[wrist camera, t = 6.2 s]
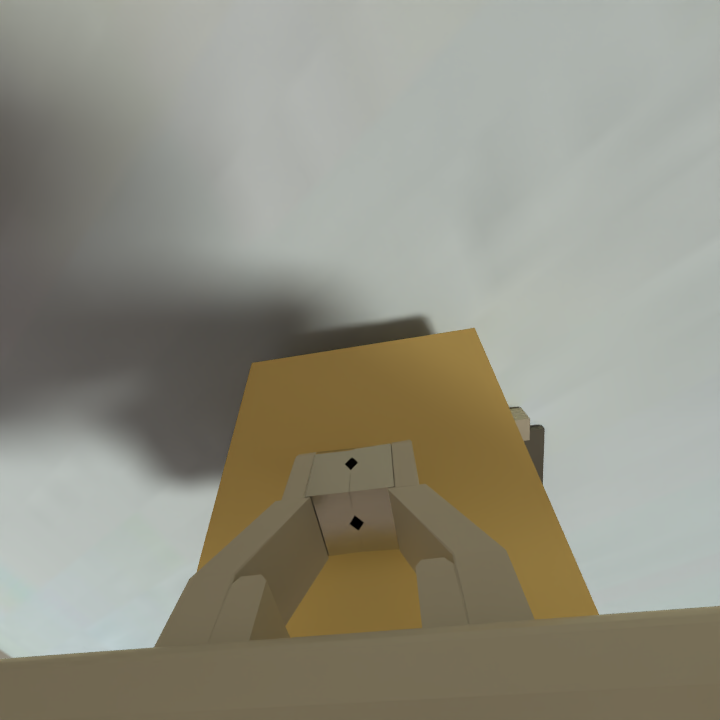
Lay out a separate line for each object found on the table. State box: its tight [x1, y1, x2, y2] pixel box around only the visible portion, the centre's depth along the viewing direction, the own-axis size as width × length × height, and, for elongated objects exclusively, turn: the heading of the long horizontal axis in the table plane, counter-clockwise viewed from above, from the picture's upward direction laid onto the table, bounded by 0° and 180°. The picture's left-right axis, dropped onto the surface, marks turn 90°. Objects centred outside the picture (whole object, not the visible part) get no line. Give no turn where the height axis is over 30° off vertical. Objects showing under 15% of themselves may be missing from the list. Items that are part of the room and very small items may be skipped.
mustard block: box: [196, 328, 599, 638], centre depth 12 cm, size 5×9×10 cm, turn 100°
